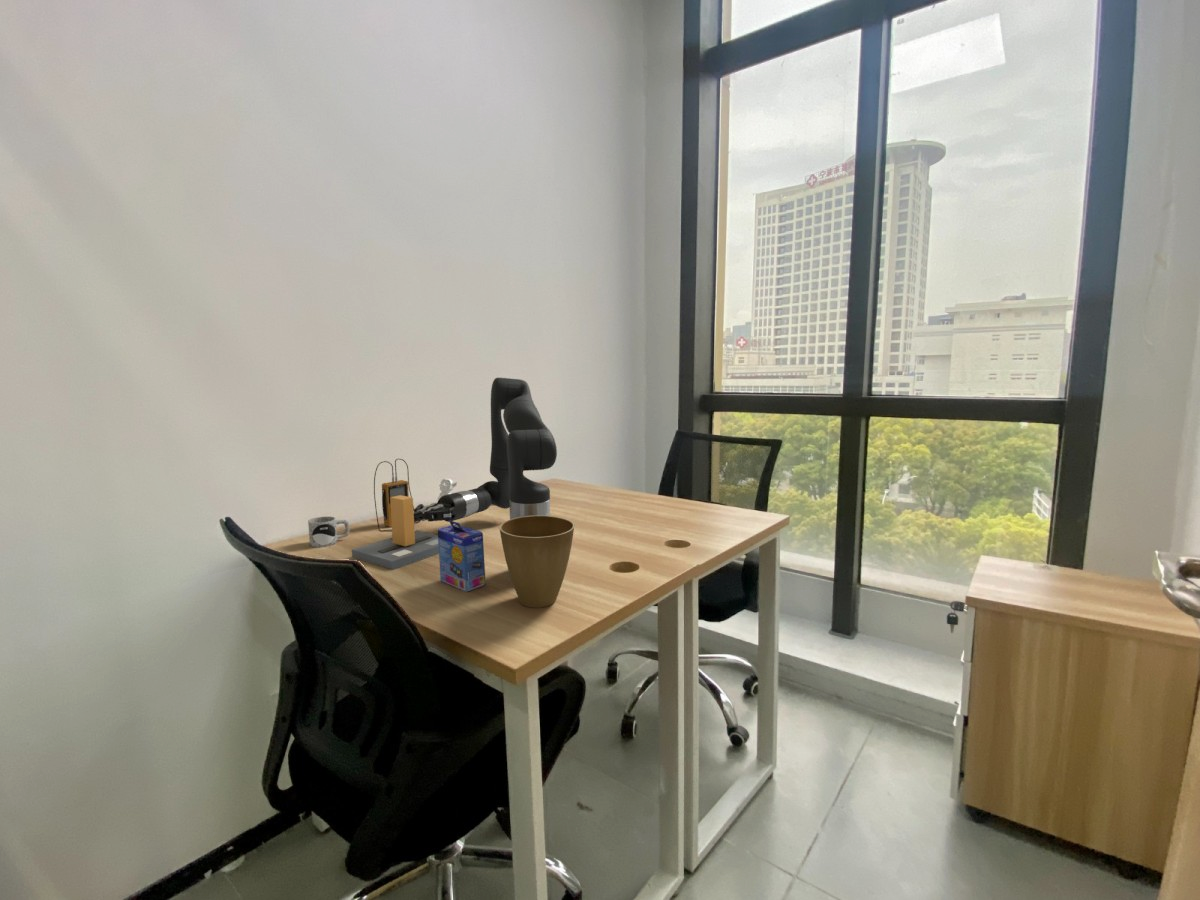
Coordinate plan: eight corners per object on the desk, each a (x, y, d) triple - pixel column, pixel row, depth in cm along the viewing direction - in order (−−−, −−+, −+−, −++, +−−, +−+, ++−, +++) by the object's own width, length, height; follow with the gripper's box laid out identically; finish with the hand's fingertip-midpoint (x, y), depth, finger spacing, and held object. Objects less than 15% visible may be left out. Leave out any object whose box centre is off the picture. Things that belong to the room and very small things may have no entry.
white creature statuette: (425, 516, 178) (423, 480, 176) (440, 510, 186) (439, 475, 185) (450, 519, 175) (449, 482, 173) (465, 512, 183) (464, 476, 182)
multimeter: (391, 535, 159) (387, 466, 156) (372, 529, 165) (368, 462, 162) (435, 523, 170) (432, 459, 167) (415, 518, 176) (412, 456, 173)
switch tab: (415, 543, 143) (412, 497, 142) (405, 546, 141) (402, 499, 139) (402, 540, 146) (400, 495, 144) (392, 542, 144) (390, 497, 142)
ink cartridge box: (438, 581, 124) (435, 518, 122) (458, 574, 129) (456, 513, 126) (465, 593, 118) (463, 526, 116) (486, 585, 122) (484, 521, 120)
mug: (312, 549, 147) (310, 524, 146) (307, 542, 152) (306, 519, 151) (352, 542, 152) (351, 518, 152) (347, 536, 158) (345, 513, 157)
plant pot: (486, 604, 112) (483, 527, 110) (534, 581, 124) (533, 511, 122) (543, 623, 104) (542, 540, 102) (589, 596, 116) (588, 522, 114)
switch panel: (457, 546, 148) (456, 538, 148) (392, 569, 132) (392, 560, 131) (417, 537, 157) (416, 529, 157) (352, 557, 140) (351, 548, 140)
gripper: (442, 489, 161) (390, 501, 147) (474, 495, 154) (424, 508, 140) (443, 514, 162) (392, 529, 148) (475, 521, 155) (425, 537, 141)
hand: (407, 519), depth 144 cm, fingers closed
